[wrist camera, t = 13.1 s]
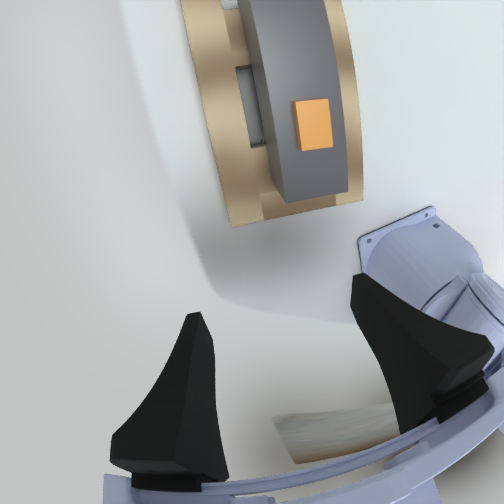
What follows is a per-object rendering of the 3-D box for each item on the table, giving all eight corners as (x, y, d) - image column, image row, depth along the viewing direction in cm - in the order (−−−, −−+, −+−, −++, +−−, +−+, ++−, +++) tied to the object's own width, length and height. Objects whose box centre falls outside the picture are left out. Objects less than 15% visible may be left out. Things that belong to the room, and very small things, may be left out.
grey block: (231, 3, 12) (242, -39, 6) (283, -1, 12) (318, -38, 6) (264, 170, 19) (288, 208, 13) (311, 162, 19) (353, 195, 14)
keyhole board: (172, -47, 9) (169, -59, 7) (308, -57, 9) (318, -68, 7) (229, 214, 21) (231, 227, 19) (350, 190, 21) (363, 200, 19)
